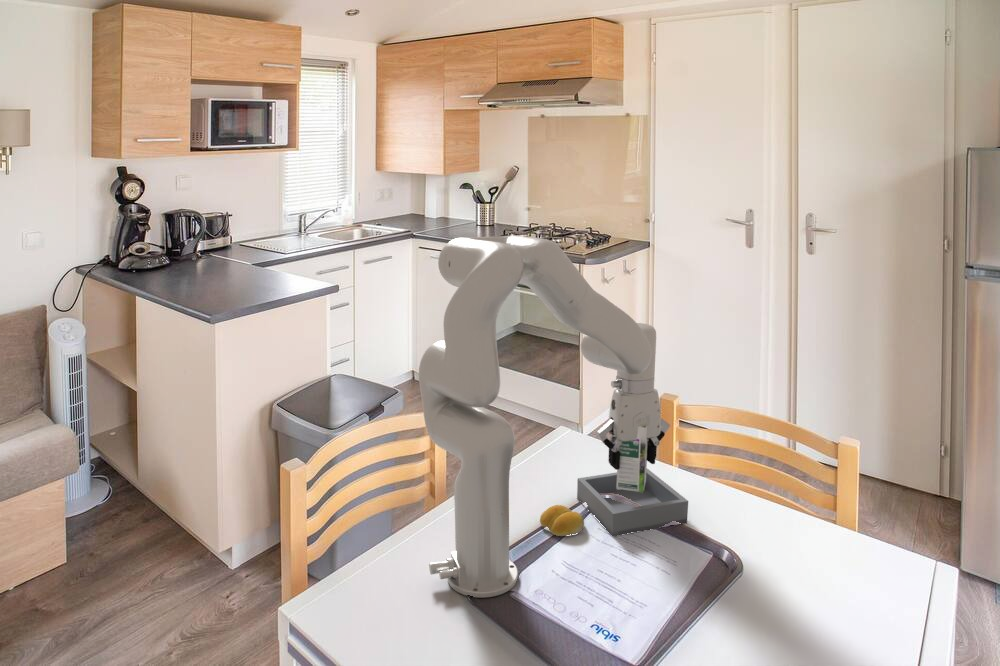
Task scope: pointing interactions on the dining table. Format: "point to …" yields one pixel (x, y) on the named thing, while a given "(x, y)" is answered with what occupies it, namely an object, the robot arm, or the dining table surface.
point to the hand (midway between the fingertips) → (632, 463)
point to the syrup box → (633, 463)
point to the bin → (622, 518)
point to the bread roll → (562, 520)
